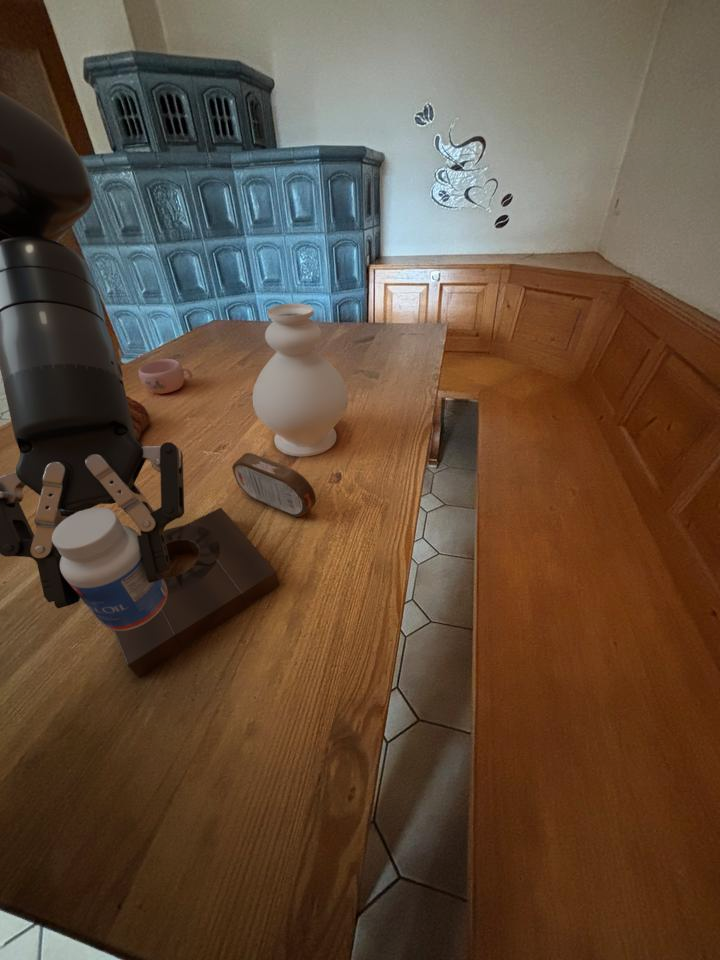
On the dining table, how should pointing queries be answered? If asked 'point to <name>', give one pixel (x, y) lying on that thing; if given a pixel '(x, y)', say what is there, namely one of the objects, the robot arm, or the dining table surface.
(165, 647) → the base pad
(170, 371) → the mug
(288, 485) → the tin
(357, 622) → the dining table surface
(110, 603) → the pill bottle
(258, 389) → the decorative vase
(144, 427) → the pastry
